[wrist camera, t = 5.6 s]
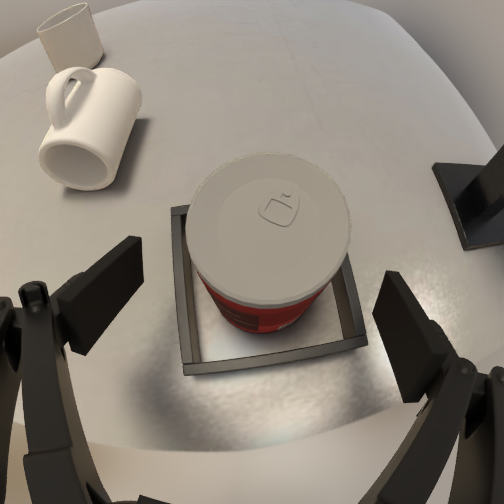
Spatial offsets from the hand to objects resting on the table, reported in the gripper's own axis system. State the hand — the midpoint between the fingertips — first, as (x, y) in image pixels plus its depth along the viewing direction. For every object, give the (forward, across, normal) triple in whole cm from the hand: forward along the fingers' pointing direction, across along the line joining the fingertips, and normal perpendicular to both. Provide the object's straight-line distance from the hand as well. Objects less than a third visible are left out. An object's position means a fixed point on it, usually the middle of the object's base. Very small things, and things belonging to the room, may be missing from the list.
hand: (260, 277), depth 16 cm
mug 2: (+16, -19, +4) cm, 25 cm away
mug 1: (+31, -35, +19) cm, 50 cm away
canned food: (+7, 0, -4) cm, 8 cm away
